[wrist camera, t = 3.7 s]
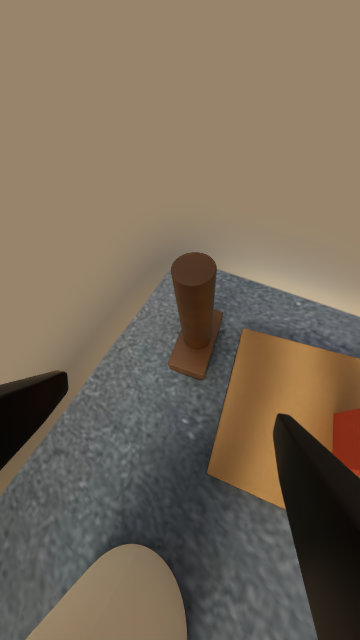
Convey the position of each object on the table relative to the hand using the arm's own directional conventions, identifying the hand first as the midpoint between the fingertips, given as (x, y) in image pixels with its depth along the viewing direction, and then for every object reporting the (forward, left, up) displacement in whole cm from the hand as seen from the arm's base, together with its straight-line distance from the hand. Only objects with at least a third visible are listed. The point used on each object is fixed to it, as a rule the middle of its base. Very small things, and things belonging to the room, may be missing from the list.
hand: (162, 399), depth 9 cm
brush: (+3, +7, -13) cm, 16 cm away
